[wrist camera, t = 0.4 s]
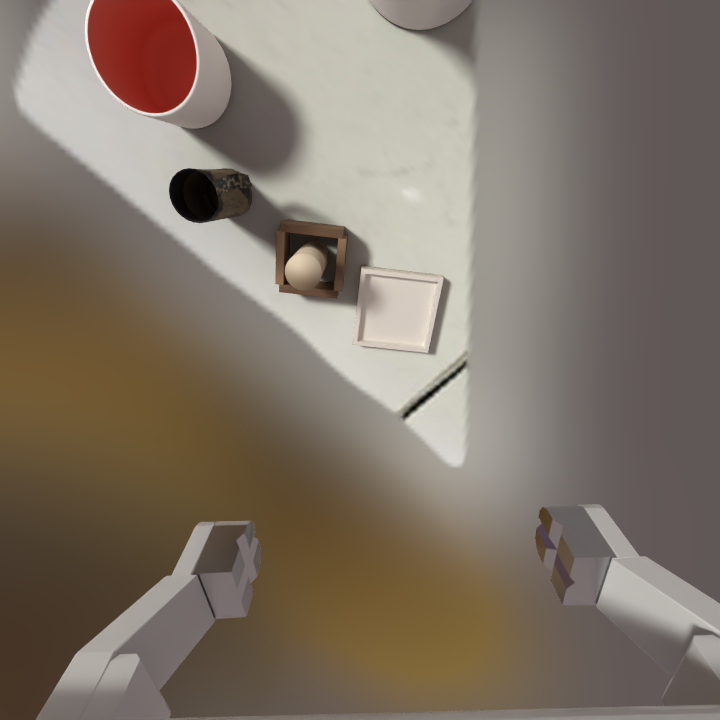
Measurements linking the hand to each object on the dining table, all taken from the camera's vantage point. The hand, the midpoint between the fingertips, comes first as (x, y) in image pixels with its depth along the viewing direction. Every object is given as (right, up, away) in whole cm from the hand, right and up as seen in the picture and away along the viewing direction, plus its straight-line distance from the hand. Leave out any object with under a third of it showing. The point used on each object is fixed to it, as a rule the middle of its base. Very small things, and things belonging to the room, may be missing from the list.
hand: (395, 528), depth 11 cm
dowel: (-7, +19, +40) cm, 45 cm away
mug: (-16, +26, +36) cm, 48 cm away
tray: (+4, +12, +43) cm, 45 cm away
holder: (-7, +19, +40) cm, 44 cm away
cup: (-20, +37, +32) cm, 52 cm away
